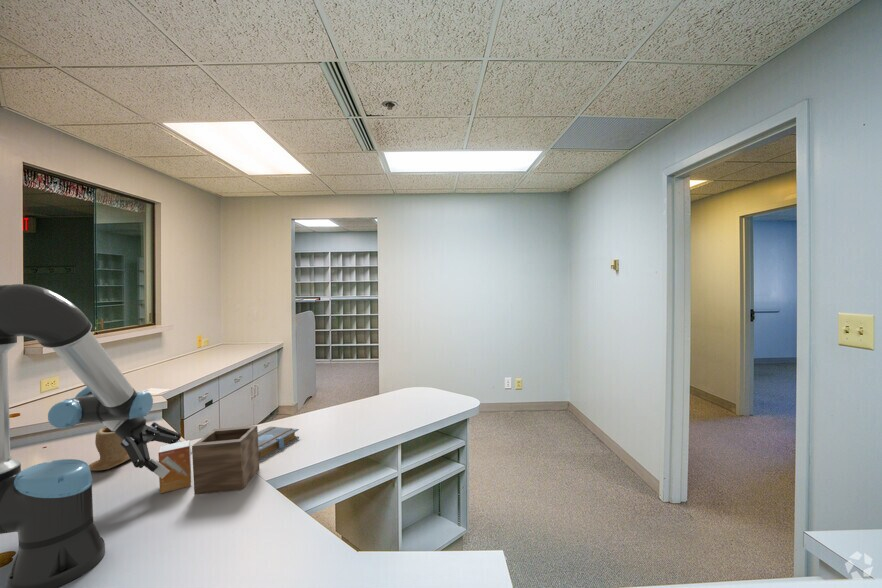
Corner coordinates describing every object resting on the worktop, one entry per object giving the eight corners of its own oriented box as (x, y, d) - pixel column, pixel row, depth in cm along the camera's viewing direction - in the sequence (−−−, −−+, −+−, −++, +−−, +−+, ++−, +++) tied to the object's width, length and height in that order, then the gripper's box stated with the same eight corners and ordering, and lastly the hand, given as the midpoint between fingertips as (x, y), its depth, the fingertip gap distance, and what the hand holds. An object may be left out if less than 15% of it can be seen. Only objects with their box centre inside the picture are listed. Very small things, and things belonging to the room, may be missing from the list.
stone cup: (109, 474, 128) (106, 431, 128) (81, 472, 130) (79, 430, 130) (150, 455, 143) (148, 416, 143) (125, 453, 145) (123, 416, 145)
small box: (159, 494, 113) (157, 452, 113) (161, 486, 118) (159, 445, 118) (191, 485, 118) (189, 445, 117) (191, 478, 123) (189, 439, 123)
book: (268, 435, 159) (267, 424, 159) (300, 439, 154) (299, 427, 154) (226, 457, 139) (225, 444, 139) (261, 461, 134) (260, 448, 134)
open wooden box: (242, 489, 114) (240, 441, 114) (194, 494, 112) (191, 445, 112) (259, 468, 128) (257, 425, 128) (216, 472, 126) (214, 429, 126)
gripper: (143, 418, 129) (191, 456, 131) (84, 448, 104) (144, 494, 106) (159, 401, 129) (206, 440, 131) (103, 427, 105) (163, 474, 107)
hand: (179, 464), depth 119 cm, fingers open, 13 cm apart
